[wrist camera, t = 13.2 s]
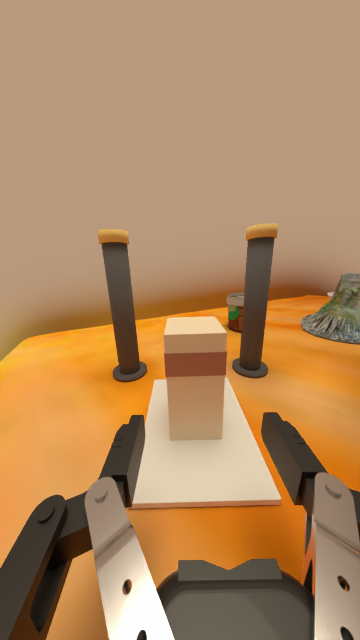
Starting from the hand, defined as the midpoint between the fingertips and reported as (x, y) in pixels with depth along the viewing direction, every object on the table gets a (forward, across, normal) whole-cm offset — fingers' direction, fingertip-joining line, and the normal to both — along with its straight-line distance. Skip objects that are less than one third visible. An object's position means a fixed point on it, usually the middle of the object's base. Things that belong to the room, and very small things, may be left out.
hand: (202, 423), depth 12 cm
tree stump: (+38, -43, +8) cm, 58 cm away
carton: (+8, 0, +8) cm, 11 cm away
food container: (+43, -16, +8) cm, 46 cm away
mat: (+8, 0, +8) cm, 11 cm away
